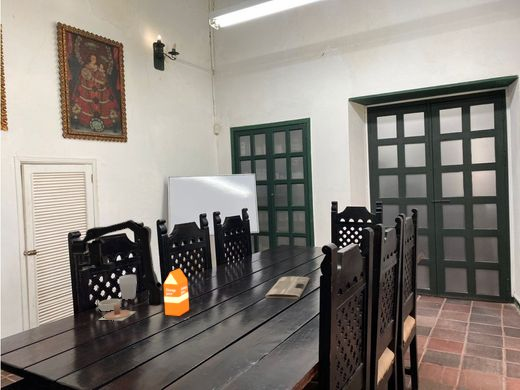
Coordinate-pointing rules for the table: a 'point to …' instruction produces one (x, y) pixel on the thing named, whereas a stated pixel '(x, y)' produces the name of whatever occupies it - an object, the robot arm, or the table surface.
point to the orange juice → (176, 293)
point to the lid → (117, 313)
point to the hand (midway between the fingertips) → (96, 283)
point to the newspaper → (288, 287)
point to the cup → (128, 286)
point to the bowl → (108, 304)
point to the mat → (121, 318)
